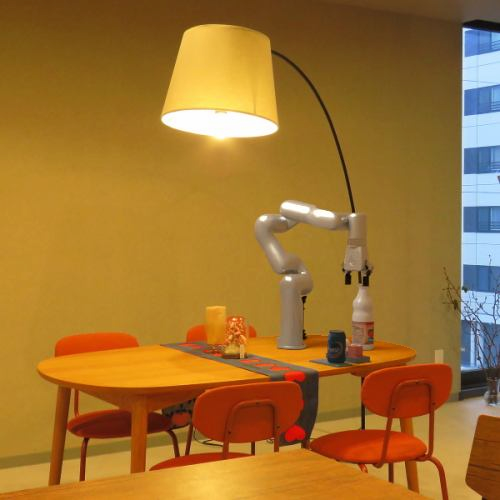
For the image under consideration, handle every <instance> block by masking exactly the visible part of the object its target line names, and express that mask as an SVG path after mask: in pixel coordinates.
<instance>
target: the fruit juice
mask: <svg viewBox="0 0 500 500" xmlns="http://www.w3.org/2000/svg"><path fill="white" fill-rule="evenodd" d="M362 284H363V283H357V288H358V291H357V294H356V297H355V298H354V299H353V301H352V308H353V312H352V314H351V315H352V316H351V344H352V345H360V346H363V351H371V350H373V349H374V347H375V343H374V342H375V339H374V338H375V314H374V307H375V302H374V300H373V299H372V297H371V295H370V291H369V288H370V285H369V286H363V285H362Z"/></svg>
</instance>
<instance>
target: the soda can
mask: <svg viewBox="0 0 500 500" xmlns="http://www.w3.org/2000/svg"><path fill="white" fill-rule="evenodd" d="M346 338H347V335H346V332H345V330H341V329H340V330H339V329H335V330H334V329H332V330H329V332H328V333H327V344H326V345H327V351H326V353H327V358H326V359H327V360H328V362H329V363H330V364H344V362H345V361H346ZM345 363H346V362H345Z"/></svg>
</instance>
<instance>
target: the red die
mask: <svg viewBox="0 0 500 500" xmlns="http://www.w3.org/2000/svg"><path fill="white" fill-rule="evenodd" d="M363 355H364V350H363V346H360V345H352V343H350V345H348V356H352V357H361V356H363Z"/></svg>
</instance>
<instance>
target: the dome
mask: <svg viewBox="0 0 500 500" xmlns="http://www.w3.org/2000/svg"><path fill="white" fill-rule="evenodd" d="M348 345H351V343H350V340H349V339H348V338H347V337H346V354H348Z"/></svg>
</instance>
